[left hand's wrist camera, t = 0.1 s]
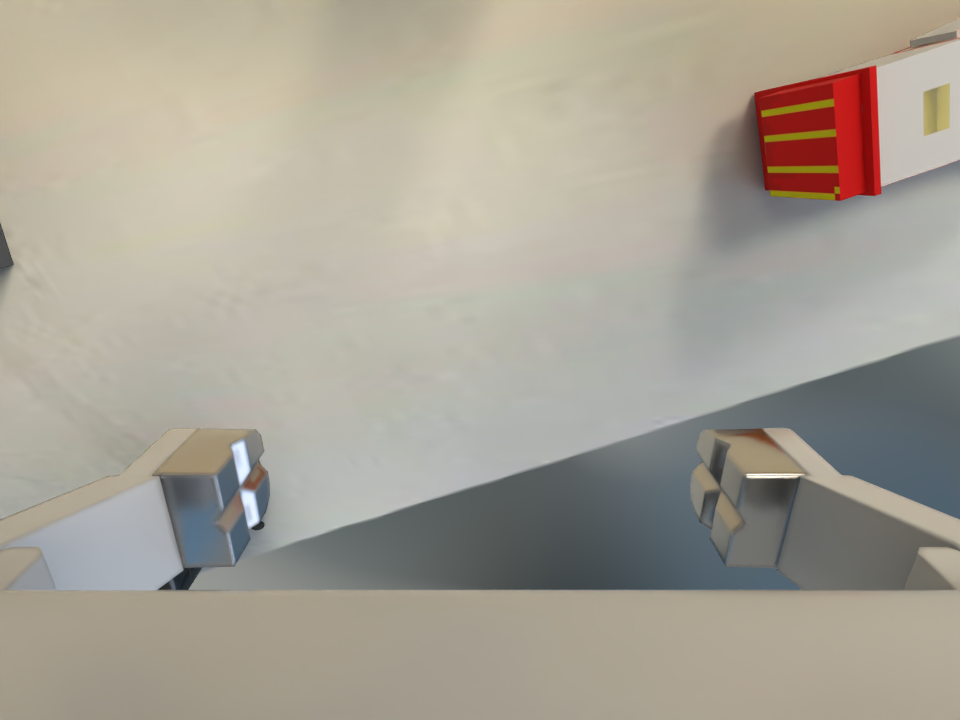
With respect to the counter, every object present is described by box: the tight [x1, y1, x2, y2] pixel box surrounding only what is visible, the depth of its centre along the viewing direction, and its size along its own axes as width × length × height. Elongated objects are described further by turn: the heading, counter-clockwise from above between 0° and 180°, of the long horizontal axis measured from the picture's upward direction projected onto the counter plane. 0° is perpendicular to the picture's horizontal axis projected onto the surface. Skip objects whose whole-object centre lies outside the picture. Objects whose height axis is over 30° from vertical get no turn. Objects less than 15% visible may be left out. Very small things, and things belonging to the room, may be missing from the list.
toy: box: [754, 18, 960, 201], centre depth 46 cm, size 12×13×30 cm
